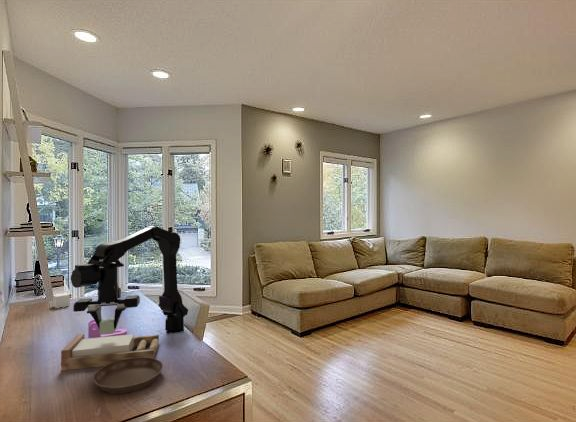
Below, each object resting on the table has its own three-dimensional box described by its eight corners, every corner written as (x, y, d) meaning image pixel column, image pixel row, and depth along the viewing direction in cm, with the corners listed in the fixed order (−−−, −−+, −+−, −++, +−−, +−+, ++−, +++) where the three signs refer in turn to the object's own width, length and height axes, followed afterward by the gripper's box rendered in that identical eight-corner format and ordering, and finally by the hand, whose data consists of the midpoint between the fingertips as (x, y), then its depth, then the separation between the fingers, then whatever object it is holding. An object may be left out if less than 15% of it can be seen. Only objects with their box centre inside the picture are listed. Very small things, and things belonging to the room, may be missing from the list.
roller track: (159, 343, 121) (159, 326, 121) (154, 360, 107) (154, 341, 107) (77, 351, 114) (77, 334, 114) (61, 370, 100) (61, 350, 100)
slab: (133, 341, 117) (133, 334, 117) (128, 352, 107) (128, 344, 107) (82, 346, 112) (82, 339, 112) (72, 358, 103) (72, 350, 103)
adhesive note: (52, 306, 171) (52, 294, 171) (66, 304, 175) (66, 292, 176) (55, 308, 167) (56, 296, 167) (69, 306, 171) (69, 294, 171)
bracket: (88, 342, 122) (88, 323, 122) (88, 338, 127) (88, 319, 127) (127, 335, 129) (127, 317, 129) (125, 331, 134) (125, 314, 134)
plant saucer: (174, 379, 95) (174, 368, 95) (109, 406, 82) (109, 393, 82) (145, 361, 107) (145, 352, 107) (83, 382, 93) (83, 371, 93)
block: (116, 329, 113) (116, 317, 113) (113, 333, 109) (113, 321, 109) (103, 330, 112) (103, 318, 112) (99, 334, 108) (99, 322, 108)
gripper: (142, 275, 120) (142, 319, 120) (84, 278, 116) (84, 323, 115) (136, 282, 110) (137, 329, 110) (72, 285, 105) (72, 335, 105)
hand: (108, 329), depth 110 cm, fingers closed on block, 4 cm apart
